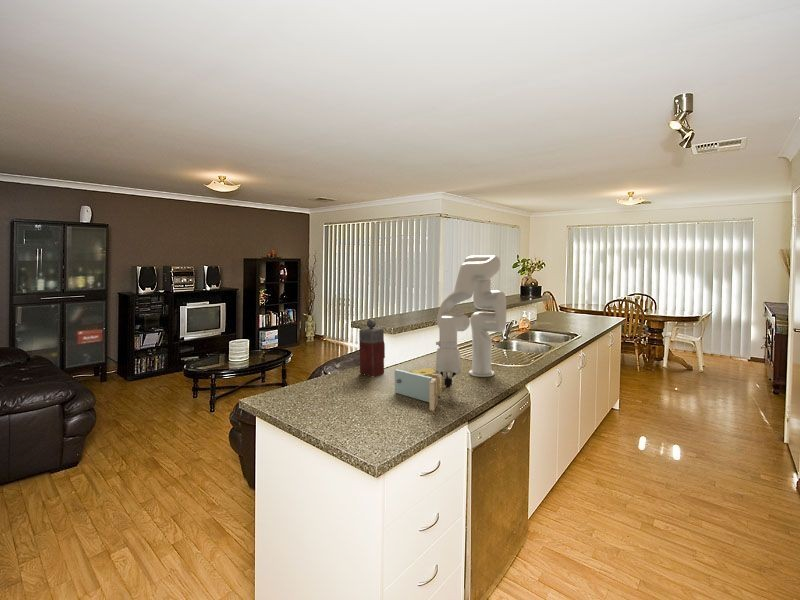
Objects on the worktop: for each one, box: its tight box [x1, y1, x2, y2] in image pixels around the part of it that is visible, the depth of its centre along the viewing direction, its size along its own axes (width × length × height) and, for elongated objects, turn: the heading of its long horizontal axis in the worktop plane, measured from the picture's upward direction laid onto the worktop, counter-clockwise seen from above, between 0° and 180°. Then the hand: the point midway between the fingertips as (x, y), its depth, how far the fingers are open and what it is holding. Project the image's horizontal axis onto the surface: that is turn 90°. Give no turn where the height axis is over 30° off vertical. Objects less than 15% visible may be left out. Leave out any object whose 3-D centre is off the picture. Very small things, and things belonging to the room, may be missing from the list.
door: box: [394, 368, 432, 403], centre depth 180 cm, size 20×4×10 cm, turn 46°
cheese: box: [409, 367, 442, 397], centre depth 185 cm, size 10×11×10 cm
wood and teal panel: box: [429, 372, 449, 412], centre depth 183 cm, size 40×2×12 cm, turn 166°
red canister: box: [358, 318, 386, 377], centre depth 219 cm, size 9×11×28 cm
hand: (448, 386), depth 185 cm, fingers closed
